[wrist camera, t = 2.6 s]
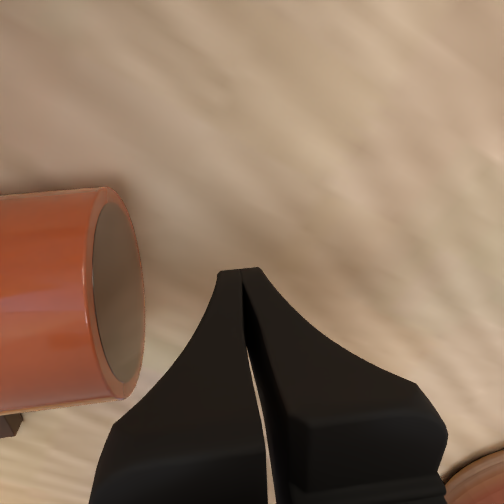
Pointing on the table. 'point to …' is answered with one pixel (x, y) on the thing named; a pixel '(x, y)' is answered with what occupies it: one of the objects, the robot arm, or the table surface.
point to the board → (9, 425)
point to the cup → (68, 300)
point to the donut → (478, 482)
